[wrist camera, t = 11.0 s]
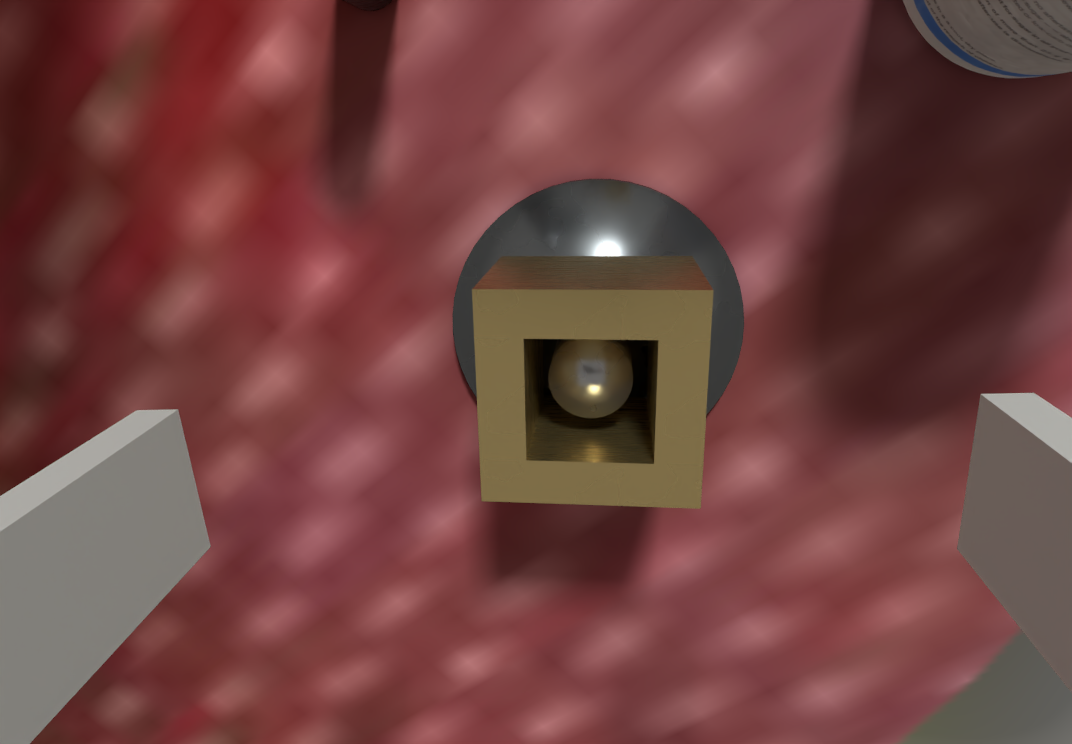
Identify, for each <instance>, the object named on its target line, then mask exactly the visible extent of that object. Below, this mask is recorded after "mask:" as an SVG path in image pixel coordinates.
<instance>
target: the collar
mask: <svg viewBox="0 0 1072 744" xmlns="http://www.w3.org/2000/svg"><path fill="white" fill-rule="evenodd" d="M472 301H473V323H474V345H475V367H476V389H477V411H478V433H479V454H480V476H481V498H482V501H491V502H521V503H550V504H580V505H610V506H639V507H669V508H699V509H701V492H702V476H703V459H704V442H705V425H706V408H707V391H708V374H709V358H710V341H711V324H712V307H713V289H712V287H711V285H710V284H709V282H708V280H707V279H706V277H705V276H704V274H703V272H702V271H701V269H700V267H699V266H698V264H697V263H696V261H695V259H694V258H693V256H501V257H500V259H499V260H498V261H497V262H496V263H495V264H494V265H493V266H492V267H491V269H490V270H489V271H488V272H487V273H486V274H485V275H484V276H483V278H482V279H481V280H480V281H479V282H478V283H477V284H476V285H475V286H474V288H473V289H472ZM543 339H594V340H648V356H647V388H646V397H628V398H627V400H626V401H625V403H624V404H623V405H622V406H621V407H620V408H619V409H617V410H616V411H614V412H613V413H611V414H609V415H606V416H603V417H599V418H584V417H579V416H576V415H573V414H571V413H569V412H568V411H566V410H565V409H563V408H562V407H561V406H560V405H559V404H558V403H557V401H556V400H555V399H554V397H553V396H546V395H544V376H543Z"/></svg>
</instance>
